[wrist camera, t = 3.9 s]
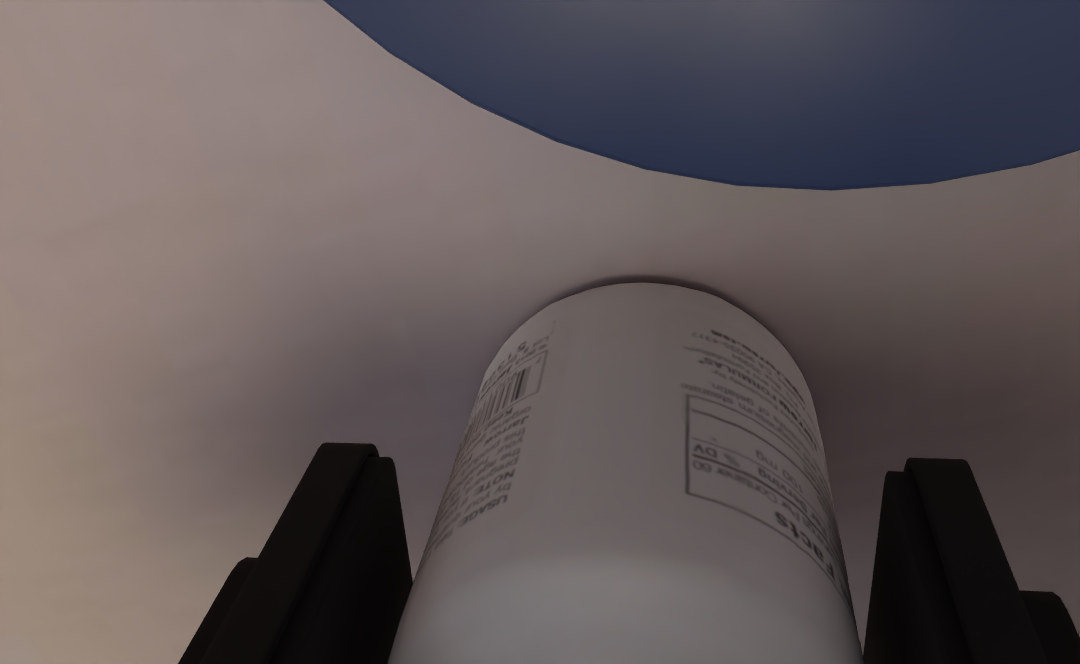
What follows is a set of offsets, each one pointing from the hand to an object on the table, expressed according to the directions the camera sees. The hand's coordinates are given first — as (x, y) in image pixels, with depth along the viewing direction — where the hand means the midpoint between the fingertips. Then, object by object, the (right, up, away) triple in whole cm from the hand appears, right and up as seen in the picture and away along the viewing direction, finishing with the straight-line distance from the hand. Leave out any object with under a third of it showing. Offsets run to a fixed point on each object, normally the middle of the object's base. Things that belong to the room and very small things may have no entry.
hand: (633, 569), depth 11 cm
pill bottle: (0, +1, +3) cm, 3 cm away
